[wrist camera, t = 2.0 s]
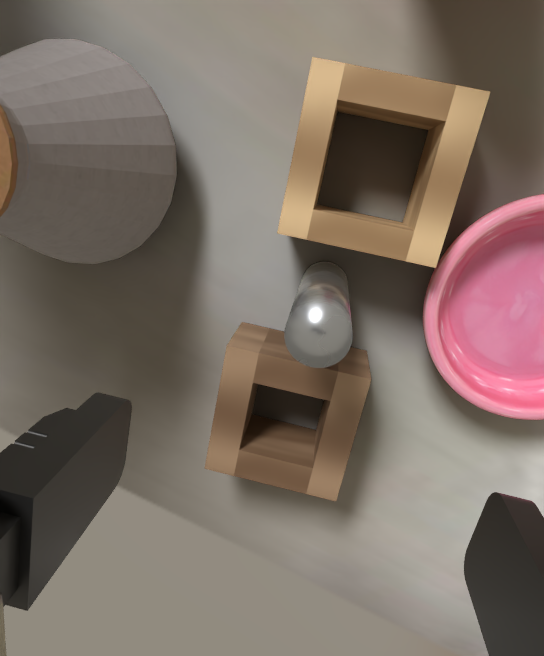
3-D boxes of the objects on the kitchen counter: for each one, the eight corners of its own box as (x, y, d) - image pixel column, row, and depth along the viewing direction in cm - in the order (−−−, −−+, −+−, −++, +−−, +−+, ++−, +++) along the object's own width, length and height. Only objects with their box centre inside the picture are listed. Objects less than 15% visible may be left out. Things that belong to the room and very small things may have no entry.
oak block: (316, 76, 26) (312, 57, 22) (465, 105, 26) (490, 91, 21) (286, 224, 29) (277, 233, 24) (421, 253, 28) (435, 267, 24)
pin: (306, 256, 29) (291, 296, 20) (352, 267, 29) (360, 311, 20) (296, 301, 30) (278, 359, 21) (341, 311, 30) (343, 374, 20)
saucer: (665, 359, 29) (703, 380, 26) (453, 423, 31) (465, 450, 28) (614, 152, 26) (650, 149, 23) (386, 244, 29) (392, 252, 26)
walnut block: (242, 321, 31) (226, 345, 27) (366, 350, 30) (371, 379, 26) (221, 431, 33) (204, 468, 29) (336, 459, 33) (336, 501, 29)
